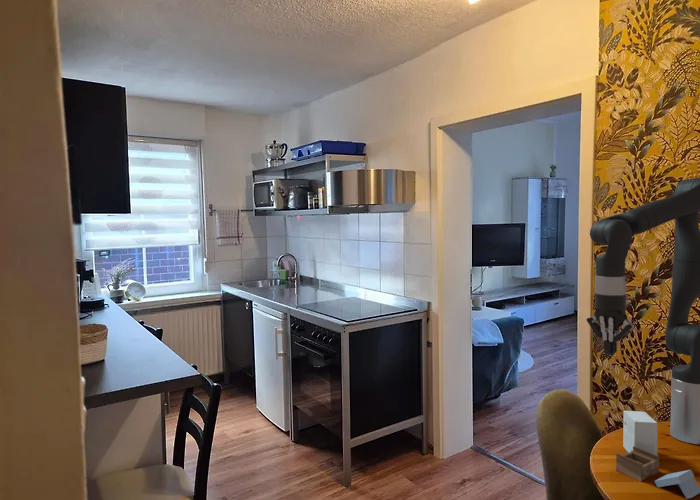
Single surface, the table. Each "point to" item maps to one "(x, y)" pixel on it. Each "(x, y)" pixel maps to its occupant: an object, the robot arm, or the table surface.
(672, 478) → the lid
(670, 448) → the table surface
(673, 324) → the robot arm
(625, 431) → the small box
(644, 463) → the case
